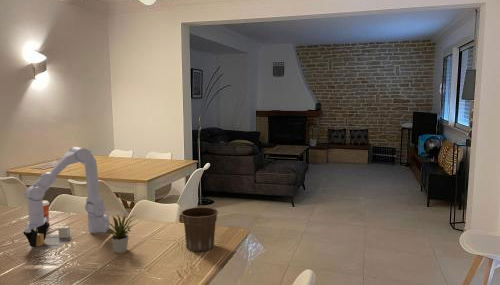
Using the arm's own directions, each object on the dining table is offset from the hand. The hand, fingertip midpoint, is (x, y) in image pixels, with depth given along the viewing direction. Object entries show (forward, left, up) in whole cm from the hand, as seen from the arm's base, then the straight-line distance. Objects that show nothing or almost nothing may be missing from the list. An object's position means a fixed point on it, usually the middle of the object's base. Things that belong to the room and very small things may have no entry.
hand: (37, 242), depth 170 cm
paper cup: (+12, -26, -2) cm, 29 cm away
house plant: (-39, +3, -2) cm, 39 cm away
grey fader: (-7, -10, -1) cm, 12 cm away
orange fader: (0, 0, -1) cm, 1 cm away
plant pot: (-72, -1, -3) cm, 72 cm away
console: (-3, -5, -2) cm, 6 cm away
